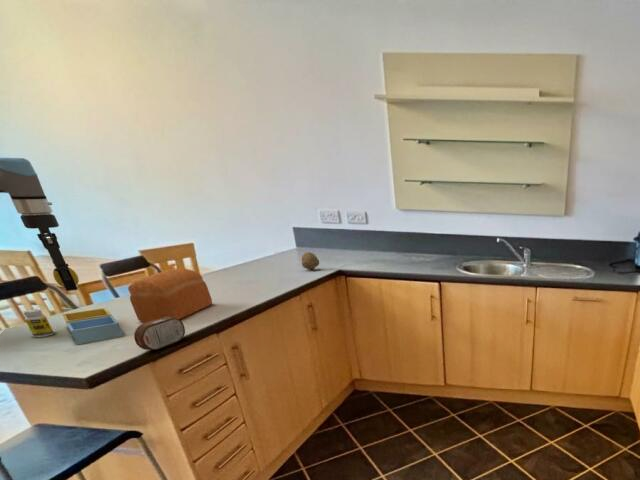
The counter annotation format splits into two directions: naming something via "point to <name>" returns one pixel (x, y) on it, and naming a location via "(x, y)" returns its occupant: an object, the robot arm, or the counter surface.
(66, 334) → the counter surface
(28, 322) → the supplement bottle
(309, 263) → the natural sponge
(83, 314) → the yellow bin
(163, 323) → the tin
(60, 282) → the lemon
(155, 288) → the bread
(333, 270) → the counter surface
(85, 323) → the blue bin
